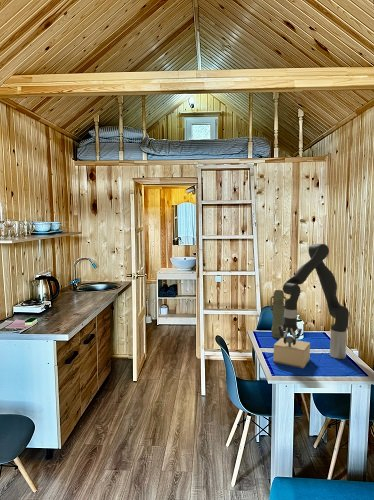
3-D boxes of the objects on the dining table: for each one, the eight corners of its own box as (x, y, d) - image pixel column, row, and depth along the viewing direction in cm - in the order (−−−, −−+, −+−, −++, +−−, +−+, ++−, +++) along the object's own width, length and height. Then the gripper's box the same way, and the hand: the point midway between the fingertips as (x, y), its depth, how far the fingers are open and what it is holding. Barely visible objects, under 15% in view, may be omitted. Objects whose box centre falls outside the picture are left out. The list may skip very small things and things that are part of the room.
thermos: (287, 338, 270) (288, 291, 268) (271, 338, 270) (272, 291, 267) (283, 334, 279) (285, 289, 277) (268, 334, 279) (269, 289, 276)
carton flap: (310, 343, 227) (310, 332, 227) (304, 351, 213) (304, 339, 213) (281, 339, 236) (281, 328, 236) (273, 346, 222) (274, 334, 222)
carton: (309, 359, 228) (310, 344, 227) (303, 368, 214) (304, 351, 213) (280, 354, 237) (281, 339, 236) (273, 362, 223) (273, 346, 223)
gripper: (304, 316, 218) (303, 344, 219) (280, 313, 225) (279, 340, 226) (301, 319, 212) (300, 348, 213) (276, 315, 219) (276, 343, 220)
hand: (289, 344), depth 220 cm, fingers closed on carton flap, 4 cm apart
